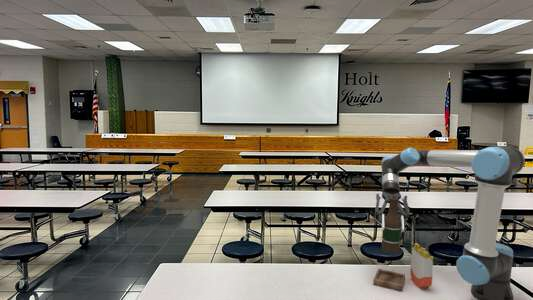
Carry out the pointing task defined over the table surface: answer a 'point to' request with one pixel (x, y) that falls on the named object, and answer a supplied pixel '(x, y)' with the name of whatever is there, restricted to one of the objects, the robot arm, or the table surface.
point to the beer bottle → (392, 228)
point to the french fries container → (421, 267)
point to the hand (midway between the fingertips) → (392, 229)
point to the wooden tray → (389, 280)
